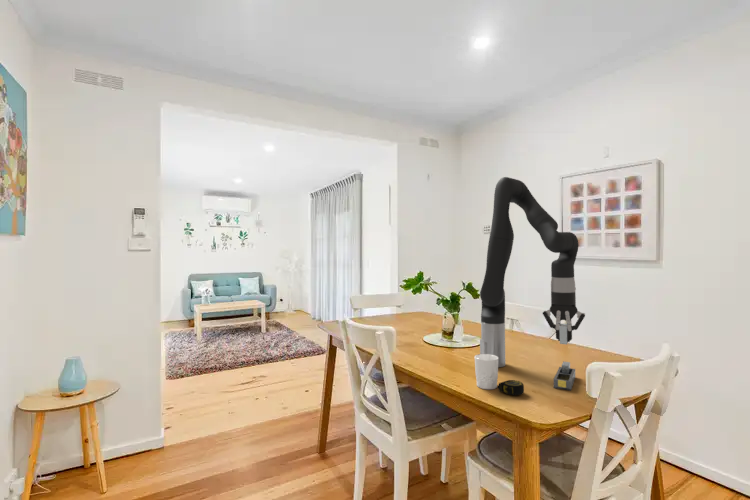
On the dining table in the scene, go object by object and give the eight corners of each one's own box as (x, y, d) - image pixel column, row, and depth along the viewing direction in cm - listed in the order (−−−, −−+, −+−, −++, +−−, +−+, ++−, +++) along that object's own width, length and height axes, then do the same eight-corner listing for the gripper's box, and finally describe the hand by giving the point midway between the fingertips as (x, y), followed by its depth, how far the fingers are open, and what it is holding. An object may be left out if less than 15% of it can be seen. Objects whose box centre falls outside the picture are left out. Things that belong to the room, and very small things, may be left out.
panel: (567, 344, 128) (566, 326, 128) (559, 343, 129) (559, 326, 129) (568, 341, 132) (568, 324, 132) (561, 340, 134) (560, 323, 134)
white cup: (480, 380, 137) (480, 352, 137) (502, 385, 132) (501, 356, 132) (471, 386, 131) (470, 357, 131) (493, 392, 126) (492, 361, 126)
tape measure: (511, 388, 129) (511, 377, 129) (528, 394, 123) (528, 383, 123) (497, 392, 126) (497, 381, 126) (514, 399, 120) (514, 387, 120)
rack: (570, 391, 125) (570, 374, 125) (553, 388, 128) (553, 371, 128) (575, 377, 139) (575, 361, 139) (559, 374, 141) (559, 359, 141)
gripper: (539, 290, 131) (540, 341, 131) (585, 292, 124) (586, 345, 124) (542, 288, 138) (543, 336, 138) (586, 290, 130) (587, 340, 130)
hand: (564, 340), depth 131 cm, fingers closed on panel, 2 cm apart
